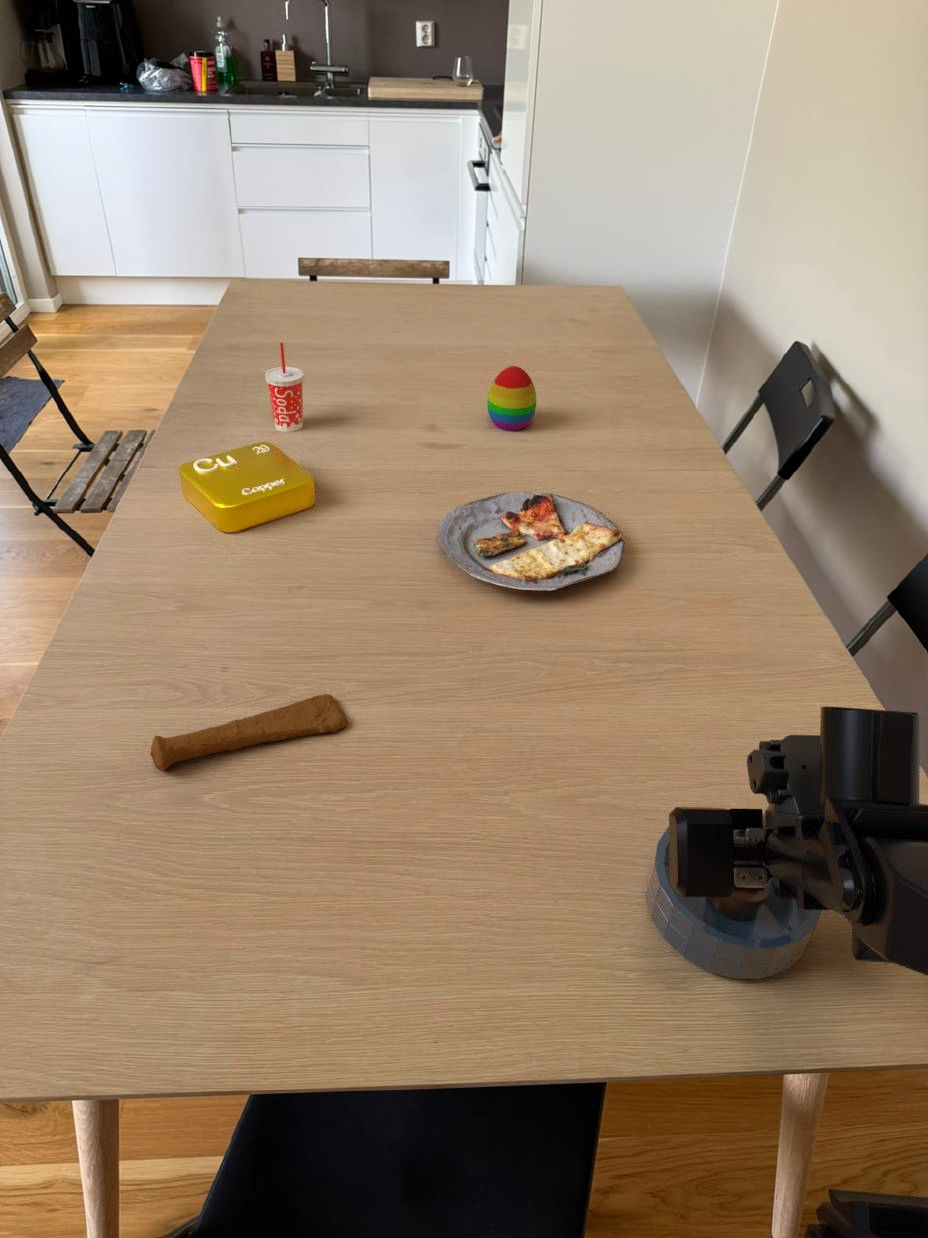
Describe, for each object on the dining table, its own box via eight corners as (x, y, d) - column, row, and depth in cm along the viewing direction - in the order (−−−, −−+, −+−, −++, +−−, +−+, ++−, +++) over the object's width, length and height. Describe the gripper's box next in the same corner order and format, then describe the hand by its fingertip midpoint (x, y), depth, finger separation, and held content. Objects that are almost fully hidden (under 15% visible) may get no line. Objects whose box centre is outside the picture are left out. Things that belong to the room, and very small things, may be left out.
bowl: (841, 955, 74) (859, 919, 70) (698, 1005, 70) (712, 969, 67) (747, 830, 84) (760, 794, 81) (618, 867, 80) (626, 831, 77)
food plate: (552, 490, 134) (554, 469, 131) (657, 566, 118) (662, 543, 116) (407, 533, 122) (407, 511, 120) (503, 623, 107) (505, 600, 105)
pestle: (767, 915, 76) (835, 818, 66) (722, 924, 74) (785, 827, 65) (743, 871, 79) (805, 772, 70) (699, 878, 78) (756, 779, 68)
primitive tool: (330, 696, 96) (328, 671, 94) (351, 728, 92) (349, 703, 90) (149, 756, 88) (143, 731, 86) (164, 793, 84) (157, 768, 82)
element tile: (224, 537, 120) (219, 506, 117) (177, 491, 129) (172, 461, 126) (321, 505, 128) (318, 475, 125) (270, 464, 137) (267, 435, 134)
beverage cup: (263, 429, 146) (254, 346, 137) (282, 415, 151) (274, 333, 142) (296, 436, 144) (289, 352, 136) (314, 421, 149) (308, 339, 140)
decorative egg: (515, 409, 156) (519, 354, 150) (544, 427, 150) (549, 370, 144) (477, 419, 152) (479, 363, 146) (504, 438, 147) (508, 380, 141)
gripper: (979, 744, 59) (865, 742, 74) (700, 740, 58) (644, 738, 74) (989, 918, 58) (871, 879, 73) (703, 915, 57) (645, 876, 72)
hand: (758, 839), depth 73 cm, fingers closed on pestle, 3 cm apart
